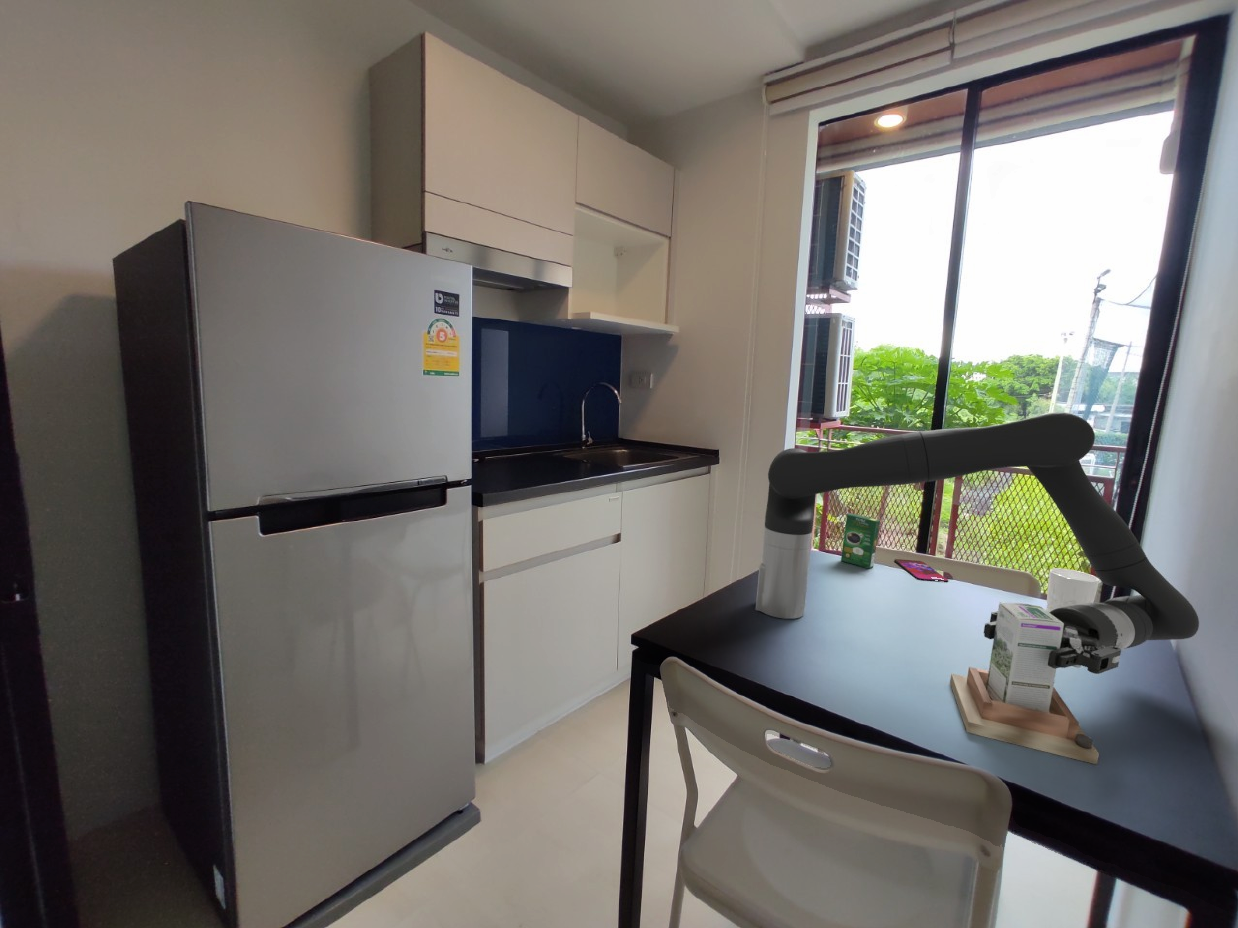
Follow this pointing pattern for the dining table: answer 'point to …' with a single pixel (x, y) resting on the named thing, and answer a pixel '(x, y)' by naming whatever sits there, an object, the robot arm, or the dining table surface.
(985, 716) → the wooden cradle
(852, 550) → the coffee box
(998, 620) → the syrup box
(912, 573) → the smartphone
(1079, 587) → the white cup
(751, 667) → the dining table surface
